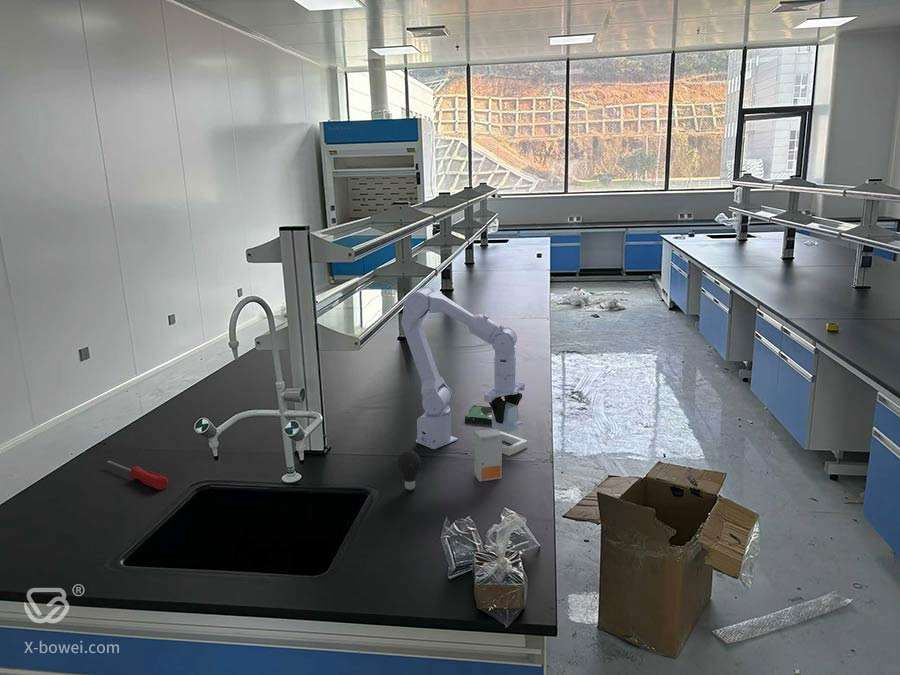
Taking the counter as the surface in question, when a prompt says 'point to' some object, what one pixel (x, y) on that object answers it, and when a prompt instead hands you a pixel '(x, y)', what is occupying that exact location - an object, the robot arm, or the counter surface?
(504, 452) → the frame
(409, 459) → the light bulb
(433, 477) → the counter surface
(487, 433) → the skincare box
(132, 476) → the screwdriver
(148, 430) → the counter surface
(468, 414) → the disk drive
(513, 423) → the block
